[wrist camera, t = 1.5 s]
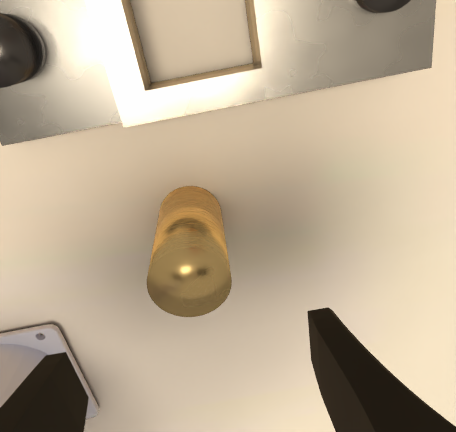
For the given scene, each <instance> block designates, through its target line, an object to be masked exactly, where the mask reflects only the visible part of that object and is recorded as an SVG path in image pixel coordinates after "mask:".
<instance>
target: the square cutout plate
mask: <svg viewBox="0 0 456 432" xmlns="http://www.w3.org/2000/svg"><path fill="white" fill-rule="evenodd" d="M245 5H246V12H247V20H248V27H249V35H250V42H251V50H252V57H253V63H252V64H247V65H241V66H236V67H231V68H226V69H221V70H216V71H211V72H206V73H201V74H195V75H190V76H185V77H180V78H175V79H170V80H165V81H160V82H155V83H151V81H150V77H149V73H148V69H147V65H146V61H145V57H144V54H143V50H142V46H141V42H140V38H139V34H138V30H137V26H136V22H135V18H134V14H133V10H132V6H131V3H130V0H0V142H1V144H2V146H4V145H9V144H14V143H19V142H24V141H29V140H34V139H40V138H45V137H50V136H55V135H60V134H65V133H70V132H75V131H81V130H86V129H91V128H96V127H101V126H106V125H111V124H116V123H121V122H122V124H123V128H125V127H130V126H135V125H140V124H145V123H150V122H156V121H161V120H166V119H171V118H176V117H181V116H186V115H191V114H197V113H202V112H207V111H212V110H217V109H222V108H227V107H232V106H238V105H243V104H248V103H253V102H258V101H263V100H268V99H273V98H279V97H284V96H289V95H294V94H299V93H304V92H309V91H314V90H319V89H325V88H330V87H335V86H340V85H345V84H350V83H355V82H360V81H366V80H371V79H376V78H381V77H386V76H391V75H396V74H401V73H407V72H412V71H417V70H422V69H427V68H431V67H432V52H433V37H434V23H435V8H436V0H245Z"/></svg>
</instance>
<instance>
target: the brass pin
mask: <svg viewBox="0 0 456 432" xmlns="http://www.w3.org/2000/svg"><path fill="white" fill-rule="evenodd" d="M147 289H148V293H149V295H150V297H151V299H152V300H153V301H154V303H155V304H156V305H157V306H158V307H160V308H161V309H162V310H164V311H166V312H168V313H170V314H173V315H177V316H182V317H195V316H200V315H204V314H207V313H209V312H211V311H213V310H215V309H216V308H218V307H219V306H220V305H221V304H222V303H223V302H224V301H225V300H226V298H227V296H228V295H229V292H230V289H231V273H230V267H229V260H228V254H227V247H226V241H225V234H224V228H223V221H222V215H221V208H220V205H219V203H218V201H217V199H216V198H215V197H214V196H213V195H212V194H211V193H210V192H208V191H207V190H205V189H202V188H199V187H194V186H186V187H181V188H178V189H176V190H174V191H172V192H171V193H169V194H168V195H167V196H166V197H165V199H164V200H163V202H162V204H161V207H160V212H159V217H158V223H157V228H156V233H155V239H154V244H153V250H152V255H151V261H150V266H149V271H148V277H147Z"/></svg>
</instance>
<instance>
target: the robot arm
mask: <svg viewBox="0 0 456 432" xmlns="http://www.w3.org/2000/svg"><path fill="white" fill-rule="evenodd" d="M308 323H309V336H310V349H311V361H312V364H313V368H314V371H315V375H316V379H317V382H318V385H319V389H320V392H321V395H322V398H323V401H324V403H325V406H326V408H327V411H328V413H329V416H330V418H331V421H332V423H333V426H334V428H335V431H336V432H456V427H455V426H454V425H453V424H451V423H450V422H449V421H447V420H446V419H445V418H444V417H442V416H441V415H440V414H439V413H437V412H436V411H435V410H433V409H432V408H431V407H430V406H428V405H427V404H426V403H425V402H424V401H422V400H421V399H420V398H419V397H418V396H416V395H415V394H414V393H413V392H412V391H411V390H409V389H408V388H407V387H406V386H405V385H404V384H403V383H402V382H401V381H399V380H398V379H397V378H396V377H395V376H394V375H393V374H392V373H391V372H390V371H389V370H387V369H386V368H385V367H384V366H383V365H382V364H381V363H380V362H379V361H378V360H377V359H376V358H375V357H374V356H373V355H372V354H371V353H370V352H369V351H368V350H367V349H366V348H365V347H364V346H363V345H362V344H361V343H360V342H359V341H358V339H357V338H356V337H355V336H354V335H353V334H352V333H351V332H350V331H349V330H348V328H347V327H346V326H345V325H344V324H343V323H342V322H341V320H340V319H339V318H338V317H337V316H336V314H335V313H334V312H333V311H332V310H331V309H330V308H323V309H317V310H311V311H308ZM39 333H42V334H44V335H41V334H39ZM98 411H99V407H98V405H97V403H96V401H95V399H94V397H93V395H92V393H91V391H90V389H89V387H88V385H87V383H86V381H85V379H84V377H83V375H82V373H81V371H80V369H79V367H78V365H77V363H76V361H75V359H74V357H73V355H72V353H71V351H70V349H69V347H68V345H67V343H66V341H65V339H64V337H63V335H62V333H61V331H60V329H59V328H58V327H57V326H55V325H52V324H47V325H42V326H36V327H31V328H26V329H21V330H16V331H11V332H5V333H0V432H83V431H84V425H85V419H87V418H92V417H95V416H96V415H97V414H98Z"/></svg>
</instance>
